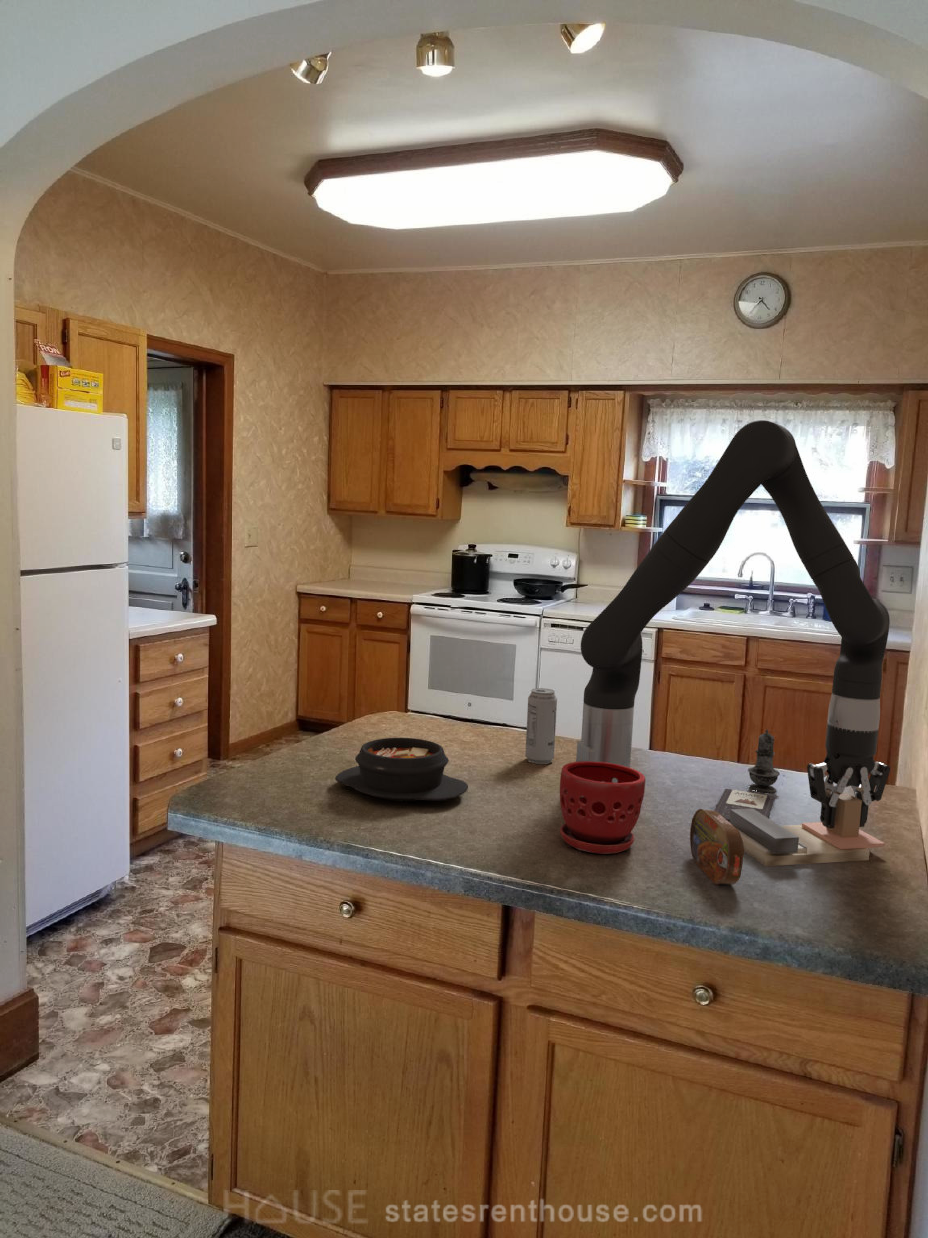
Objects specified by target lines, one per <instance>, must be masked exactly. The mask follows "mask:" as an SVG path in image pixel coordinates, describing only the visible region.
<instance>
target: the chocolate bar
mask: <svg viewBox="0 0 928 1238" xmlns="http://www.w3.org/2000/svg"><path fill="white" fill-rule="evenodd" d="M775 799H776V798H775V796H774V795H769V794H764V793H757V792H750V791H743V790H737V789H731V788H725V789H724V791H723V792H722V794H721V796H720V798H719V800H718V802H717V804H716V806H715V808H714V810H713V811H716V812H718V813H719V814H721V815H722V816H723V817H724V818H725V819H726V820H727V821H729V822H730V811H731V809H754V810H756V811H757V812H759V813H760V814H762V815H764V816H765V817H767V818H769V817H770V814H771V812H770V811H772V808H773V805H774V803H775ZM769 819H770V818H769Z"/></svg>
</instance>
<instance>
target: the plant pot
mask: <svg viewBox="0 0 928 1238" xmlns="http://www.w3.org/2000/svg"><path fill="white" fill-rule="evenodd" d="M613 778H616V779H617V780H618V782H617V783H613V782H612V779H613ZM559 779H560V780H559V802H560V803H559V804H560V809H561V815H562V817H563V820H564V824H563V825H561V827H560V831H559V832H560V836H561V838H562V839H563V840H564V842H565V843H566V844H568V845H569V846H571V847H572V848H575V849H576V850H577V851H580V852H581V851H583V852H586V853H592V854H602V855H608V854H609V855H610V854H617V853H621V852H623V851H626V850H628V849H629V848H630V847H631V846H632V845H633V844H634V841H635V835H634V834H633V830H634V829H635V826H636V825H637V822H638V820H639V818H640V815H641V811H642V805H643V800H644V796H645V791H646V790H645V788H646V776H645V775H644V774H643V773H642V772H640V771H639V770H637V769H634V768H632V767H630V768H629V767H626V766H622V765H618V764H612V763H606V762H594V761H580V762H576V761H574V762H569V763H566V764H564V765H563V766H562V767H561V772H560V778H559ZM601 781H604V782H601ZM582 796H583V797H582Z"/></svg>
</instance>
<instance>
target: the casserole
mask: <svg viewBox="0 0 928 1238" xmlns="http://www.w3.org/2000/svg"><path fill="white" fill-rule="evenodd" d="M354 759H355V762H356V763H357V764H358V765H357V766H353V767H349V768H346V769H345V770H342V771H341V772H339V773H338V774H337V775H335V781H336V782H338V783H339V784H342V785H345V786H348V787H350V788H353V789H354V790H356V791H358V792H360V793H363V794H365V795H368V796H372V797H375V798H377V799H381V800H388V801H393V802H395V801H396V802H411V801H419V800H420V801H434V802H435V801H436V802H437V801H438V802H440V801H446V800H452V799H454V798H456V797H459V796H461V795H464V794H466V792H468V789H469V785H468V783H467V782H465V781H463V780H461V779H458V778H455V777H451V776H448V775H446V774H444V771H445V767H446V766H447V765H449V761H450V760H449V758H448V757H447V755H446V754H445V751H444V748H443V746H442V745H440V744H439V743H436V742H434V741H432V740H431V741H430V740H427V739H423V738H421V739H420V738H414V737H412V738H411V737H387V738H379V739H374V740H370V741H367V742H365V743H363V745H361V747H360V750H359V752H358V754H357V755H356V756H355V758H354Z"/></svg>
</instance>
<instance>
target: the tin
mask: <svg viewBox="0 0 928 1238" xmlns="http://www.w3.org/2000/svg"><path fill="white" fill-rule="evenodd" d="M689 830H690V832H689V833H690V834H689V844H690V852H691V855H692V859H693V861H694V863H695V864H696V866H698V867H699V869H701V870H702V871H703V873H704V874H705V875H706V876H707V878H708V879H710V881H711V882H712V883H714V885H733V884H736V883H737V882H739V880H740V879H741V876H742V870H743V863H744V855H745V852H744V845H743V840H742V837H741V835H740V833H739V831H738V830H737V828H735V827H734V826H733V825H732V824H731V823H730V822H729V821H727V820H726V819H725V818H724V817H723V816H722V815H721V814H719V813H718V812H716V811H714V810H708V809H703V808H699V809H697V810H696V811H695V813H694V814H693V817H692V819H691V823H690V829H689Z"/></svg>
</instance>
